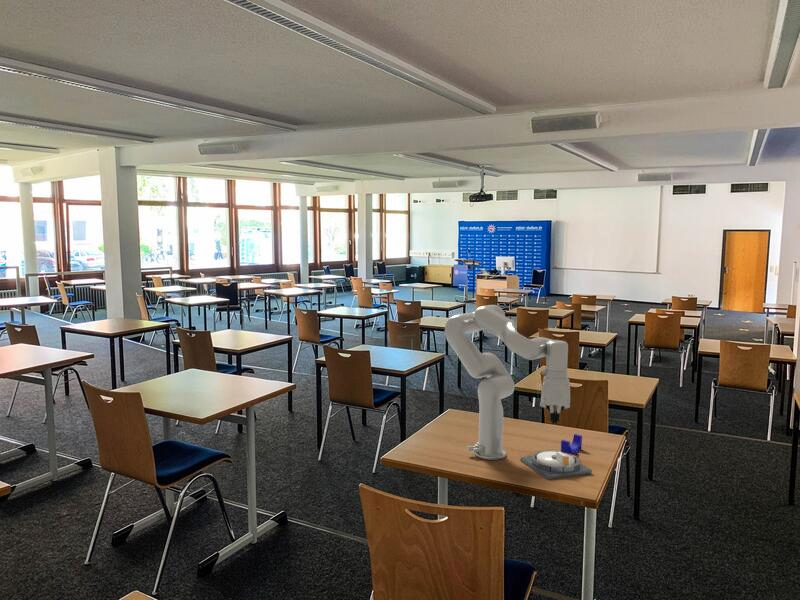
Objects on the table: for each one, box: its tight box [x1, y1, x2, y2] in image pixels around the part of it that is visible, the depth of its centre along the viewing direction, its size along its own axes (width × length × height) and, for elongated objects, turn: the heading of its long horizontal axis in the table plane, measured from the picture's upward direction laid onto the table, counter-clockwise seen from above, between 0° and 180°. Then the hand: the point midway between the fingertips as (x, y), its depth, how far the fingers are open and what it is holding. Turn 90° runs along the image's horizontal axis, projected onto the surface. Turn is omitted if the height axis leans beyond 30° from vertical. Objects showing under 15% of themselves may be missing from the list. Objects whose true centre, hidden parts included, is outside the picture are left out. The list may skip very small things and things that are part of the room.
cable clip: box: [560, 433, 583, 456], centre depth 240 cm, size 12×4×6 cm, turn 136°
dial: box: [537, 450, 575, 467], centre depth 223 cm, size 14×14×5 cm
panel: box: [520, 449, 593, 480], centre depth 223 cm, size 19×19×4 cm
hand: (554, 422), depth 216 cm, fingers closed
